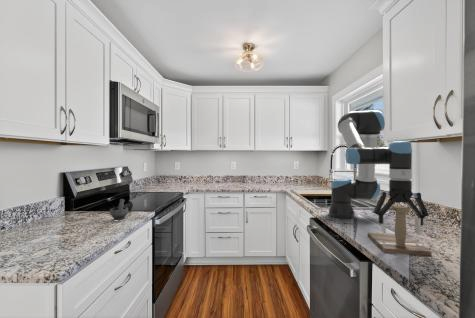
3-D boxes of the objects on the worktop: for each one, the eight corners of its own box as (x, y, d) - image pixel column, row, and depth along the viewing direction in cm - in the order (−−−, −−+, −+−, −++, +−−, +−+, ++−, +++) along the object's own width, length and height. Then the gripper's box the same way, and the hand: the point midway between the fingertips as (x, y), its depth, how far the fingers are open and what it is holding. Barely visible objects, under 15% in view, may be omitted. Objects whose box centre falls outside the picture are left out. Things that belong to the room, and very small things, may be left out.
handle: (398, 240, 101) (399, 205, 100) (412, 246, 94) (412, 208, 94) (388, 241, 100) (389, 205, 99) (401, 247, 93) (402, 209, 93)
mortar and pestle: (124, 222, 139) (124, 201, 139) (107, 222, 138) (107, 201, 138) (130, 217, 151) (130, 198, 151) (115, 217, 150) (115, 198, 150)
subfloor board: (367, 235, 113) (367, 231, 112) (405, 237, 109) (405, 233, 109) (384, 252, 93) (384, 247, 93) (431, 255, 90) (431, 250, 90)
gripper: (370, 179, 96) (371, 233, 96) (440, 180, 91) (440, 237, 91) (365, 178, 103) (365, 228, 103) (428, 179, 98) (428, 231, 98)
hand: (400, 232), depth 97 cm, fingers open, 12 cm apart
